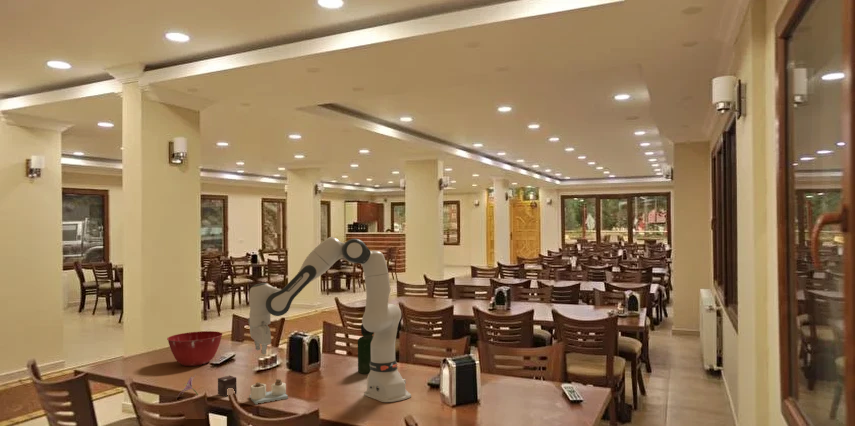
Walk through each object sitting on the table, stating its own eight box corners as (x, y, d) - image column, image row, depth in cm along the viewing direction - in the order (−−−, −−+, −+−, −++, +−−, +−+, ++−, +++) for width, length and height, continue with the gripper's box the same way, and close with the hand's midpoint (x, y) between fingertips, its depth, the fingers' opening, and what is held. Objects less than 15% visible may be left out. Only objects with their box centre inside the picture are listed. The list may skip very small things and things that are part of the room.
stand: (289, 398, 239) (289, 381, 239) (255, 404, 231) (255, 387, 231) (281, 391, 248) (281, 375, 248) (249, 397, 240) (249, 380, 241)
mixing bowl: (167, 360, 310) (167, 333, 311) (220, 354, 322) (220, 328, 323) (166, 372, 285) (166, 343, 285) (224, 365, 297) (224, 337, 297)
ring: (267, 397, 236) (267, 386, 236) (253, 400, 233) (252, 388, 233) (263, 394, 241) (263, 382, 242) (249, 396, 238) (249, 385, 238)
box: (229, 391, 251) (229, 375, 251) (237, 393, 247) (236, 377, 247) (217, 394, 246) (217, 378, 246) (224, 397, 242) (224, 380, 242)
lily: (194, 392, 253) (183, 375, 252) (212, 384, 249) (200, 367, 248) (177, 408, 242) (165, 390, 241) (195, 400, 238) (183, 382, 237)
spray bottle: (379, 368, 285) (379, 321, 285) (376, 374, 275) (375, 324, 275) (360, 368, 286) (359, 321, 286) (355, 374, 276) (355, 324, 276)
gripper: (274, 322, 232) (275, 355, 232) (260, 316, 250) (261, 346, 249) (259, 324, 229) (260, 357, 229) (246, 318, 246) (247, 349, 246)
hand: (260, 351), depth 239 cm, fingers open, 8 cm apart
